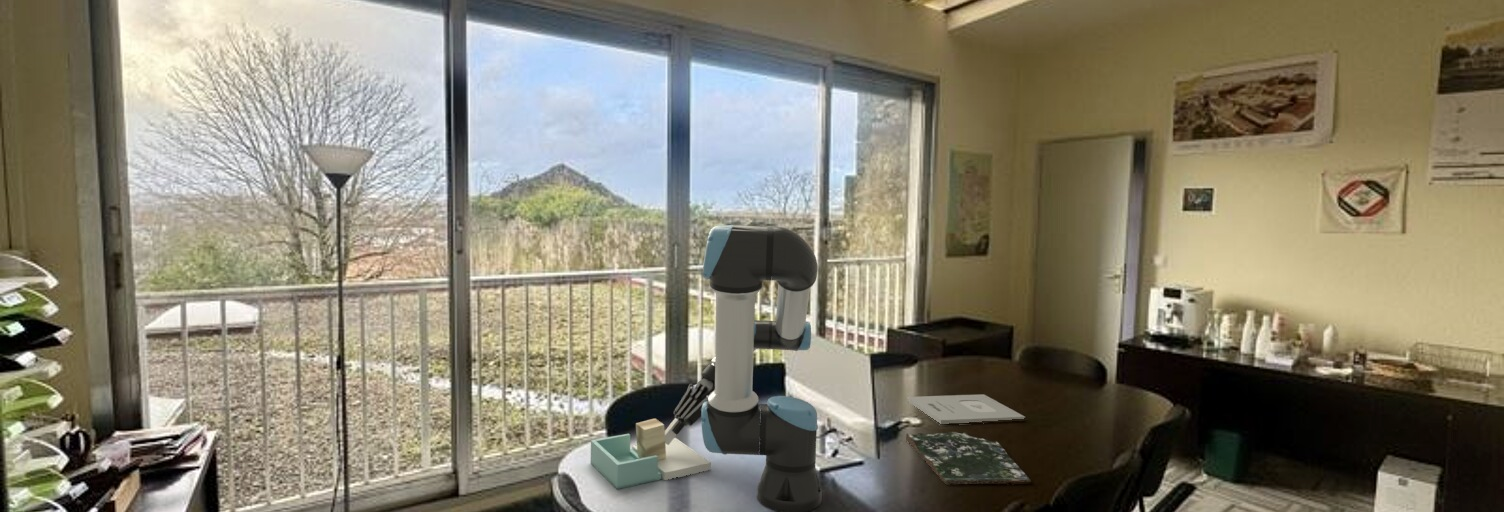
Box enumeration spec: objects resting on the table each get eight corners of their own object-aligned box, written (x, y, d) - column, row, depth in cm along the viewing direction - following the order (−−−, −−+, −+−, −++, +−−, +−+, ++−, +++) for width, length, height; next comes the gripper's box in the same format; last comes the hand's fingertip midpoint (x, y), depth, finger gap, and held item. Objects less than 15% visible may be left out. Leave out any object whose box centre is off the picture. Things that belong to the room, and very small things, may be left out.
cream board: (710, 470, 170) (710, 462, 170) (664, 480, 163) (664, 472, 163) (675, 444, 187) (675, 437, 186) (632, 453, 179) (632, 445, 179)
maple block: (666, 458, 171) (664, 424, 170) (646, 463, 168) (644, 429, 167) (656, 450, 175) (655, 418, 174) (637, 456, 172) (635, 423, 171)
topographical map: (945, 487, 166) (946, 475, 165) (903, 439, 198) (903, 429, 198) (1043, 486, 168) (1044, 474, 168) (985, 439, 201) (986, 429, 201)
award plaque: (907, 402, 235) (907, 396, 234) (983, 400, 241) (983, 394, 241) (940, 426, 211) (940, 420, 210) (1024, 423, 217) (1025, 416, 217)
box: (661, 479, 163) (661, 455, 163) (617, 489, 157) (617, 464, 156) (631, 454, 178) (632, 433, 178) (590, 462, 172) (590, 440, 171)
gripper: (740, 385, 178) (684, 457, 170) (716, 374, 189) (662, 441, 181) (724, 368, 174) (665, 441, 167) (700, 358, 185) (644, 425, 178)
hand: (663, 441), depth 174 cm, fingers closed
